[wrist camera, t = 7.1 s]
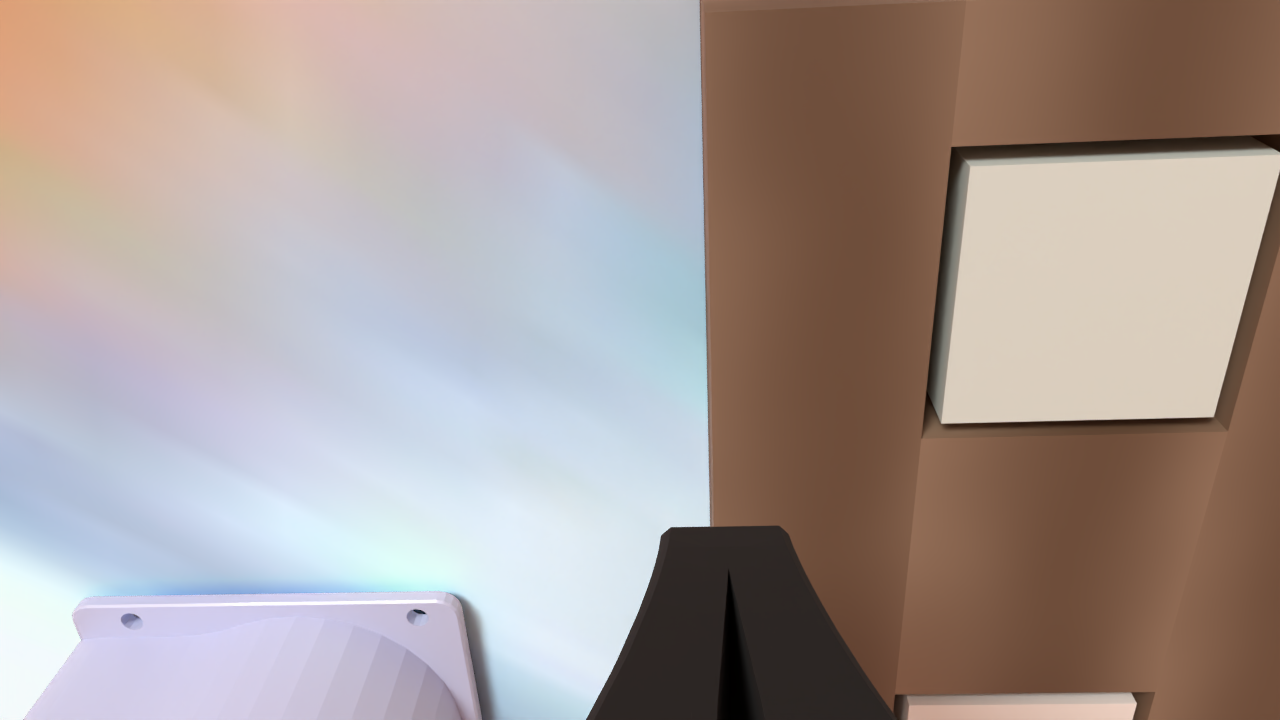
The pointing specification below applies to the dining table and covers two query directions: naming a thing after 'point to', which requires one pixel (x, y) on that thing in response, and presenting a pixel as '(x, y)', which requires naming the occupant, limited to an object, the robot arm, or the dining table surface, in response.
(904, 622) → the panel
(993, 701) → the pale pink block
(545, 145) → the dining table surface
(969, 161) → the key front
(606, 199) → the dining table surface
